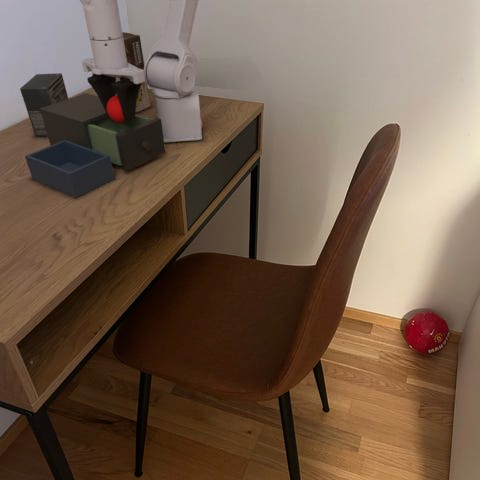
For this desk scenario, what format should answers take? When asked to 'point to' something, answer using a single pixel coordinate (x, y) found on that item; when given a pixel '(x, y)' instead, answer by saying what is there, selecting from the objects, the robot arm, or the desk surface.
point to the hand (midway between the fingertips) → (121, 117)
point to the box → (70, 168)
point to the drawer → (127, 140)
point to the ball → (115, 110)
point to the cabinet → (72, 119)
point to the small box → (42, 97)
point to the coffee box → (136, 59)
